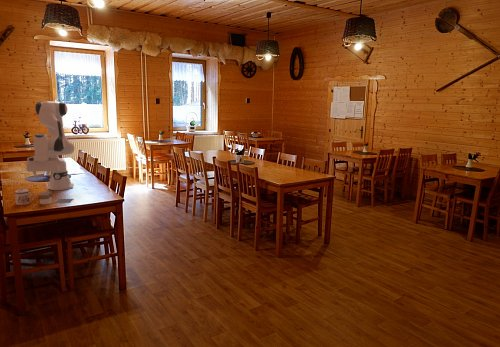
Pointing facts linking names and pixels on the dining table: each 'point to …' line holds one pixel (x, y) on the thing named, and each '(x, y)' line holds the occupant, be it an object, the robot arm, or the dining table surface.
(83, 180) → the dining table surface
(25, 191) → the teacup with lid
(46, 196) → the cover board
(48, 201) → the bowl
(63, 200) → the mat
